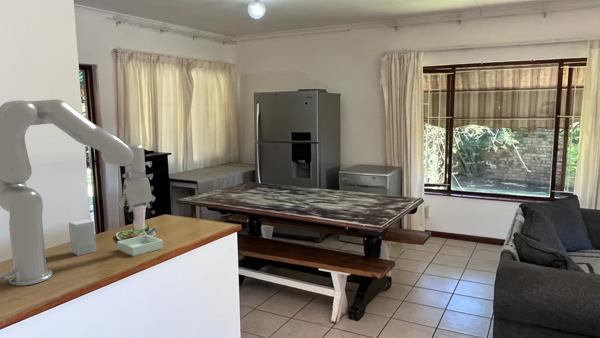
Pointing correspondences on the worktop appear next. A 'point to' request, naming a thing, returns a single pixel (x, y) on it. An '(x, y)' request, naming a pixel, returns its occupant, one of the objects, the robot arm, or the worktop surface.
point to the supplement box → (82, 237)
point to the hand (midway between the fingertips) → (138, 218)
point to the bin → (140, 245)
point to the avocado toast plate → (135, 233)
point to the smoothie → (139, 216)
